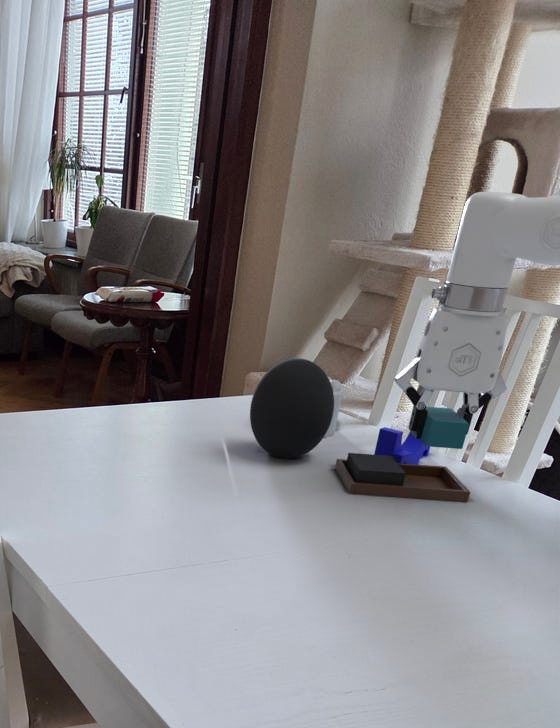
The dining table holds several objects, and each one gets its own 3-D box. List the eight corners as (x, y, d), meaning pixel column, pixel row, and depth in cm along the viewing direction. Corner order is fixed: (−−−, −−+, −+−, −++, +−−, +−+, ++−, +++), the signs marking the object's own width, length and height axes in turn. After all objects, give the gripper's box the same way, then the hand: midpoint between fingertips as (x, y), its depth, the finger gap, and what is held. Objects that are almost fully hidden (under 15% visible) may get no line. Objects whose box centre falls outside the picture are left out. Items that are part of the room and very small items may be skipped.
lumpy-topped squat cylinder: (336, 423, 153) (346, 373, 149) (332, 442, 142) (342, 389, 138) (278, 415, 156) (286, 367, 151) (269, 434, 145) (277, 382, 140)
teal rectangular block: (444, 432, 123) (451, 408, 121) (462, 449, 116) (469, 423, 114) (409, 430, 123) (416, 405, 121) (425, 446, 116) (431, 420, 114)
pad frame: (442, 479, 128) (446, 466, 127) (466, 505, 118) (470, 492, 117) (334, 471, 129) (336, 458, 128) (348, 497, 119) (351, 483, 118)
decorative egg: (317, 448, 138) (335, 353, 131) (329, 473, 128) (349, 370, 120) (241, 443, 139) (254, 347, 132) (246, 466, 129) (261, 364, 121)
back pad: (387, 475, 127) (392, 455, 125) (401, 493, 120) (406, 473, 118) (344, 472, 127) (348, 452, 125) (355, 490, 120) (359, 469, 118)
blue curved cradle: (397, 475, 129) (407, 435, 126) (371, 467, 131) (379, 428, 128) (436, 461, 136) (445, 423, 133) (410, 453, 139) (419, 417, 136)
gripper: (413, 299, 108) (380, 440, 117) (551, 308, 107) (507, 450, 116) (399, 291, 114) (368, 425, 123) (528, 300, 113) (488, 434, 122)
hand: (436, 436), depth 119 cm, fingers closed on teal rectangular block, 5 cm apart
